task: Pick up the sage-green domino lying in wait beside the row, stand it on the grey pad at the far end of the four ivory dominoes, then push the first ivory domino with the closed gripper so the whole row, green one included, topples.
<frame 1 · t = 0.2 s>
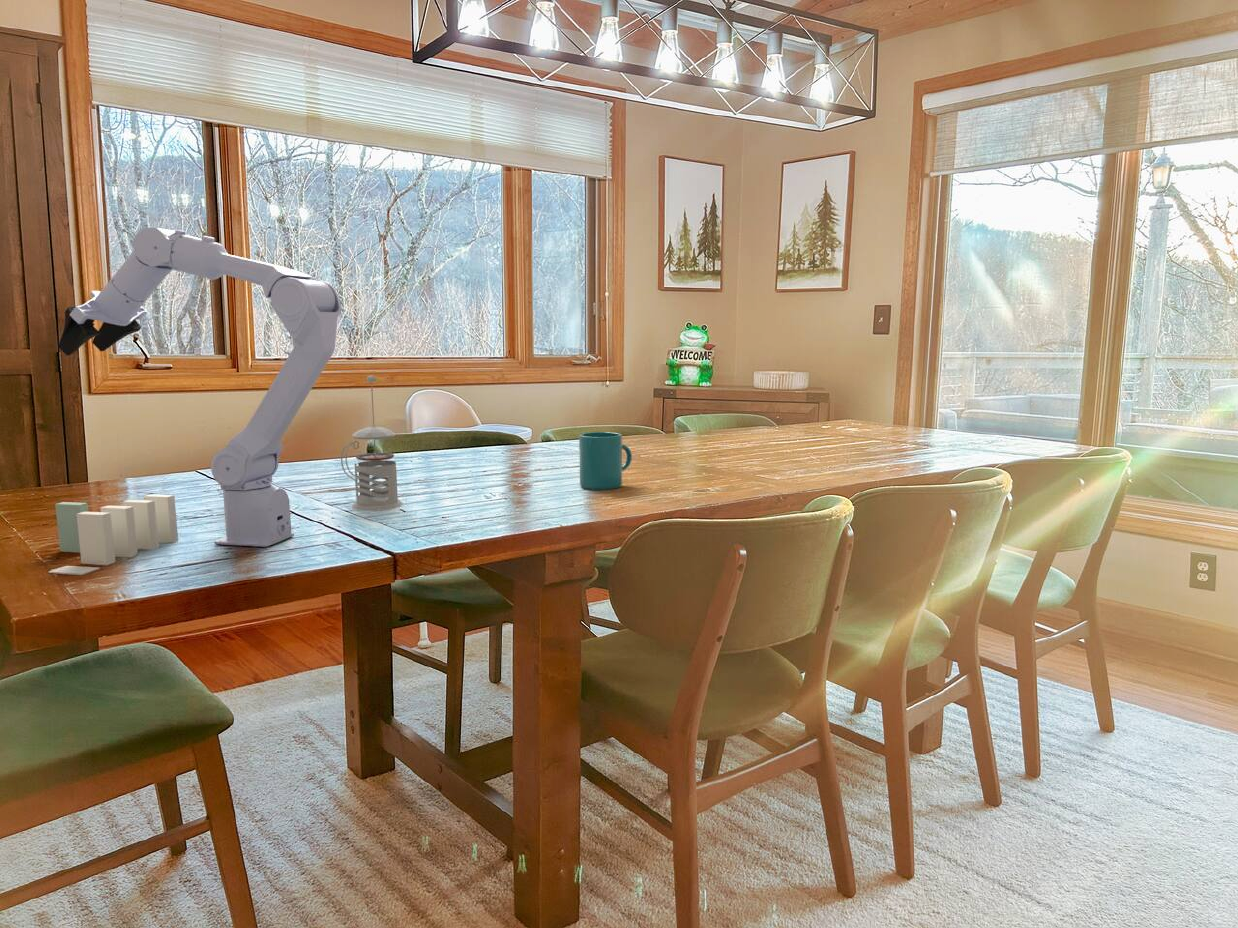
hand: (81, 348, 145), 31 cm above the table, tool tilted 45°, fingers open, 7 cm apart
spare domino: (76, 550, 138), on the table
french press: (373, 506, 172), on the table
domino 2: (142, 547, 140), on the table
domino 3: (121, 555, 136), on the table
domino 4: (98, 562, 131), on the table
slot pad: (74, 570, 127), on the table
domino 1: (162, 541, 144), on the table
cup: (607, 486, 191), on the table
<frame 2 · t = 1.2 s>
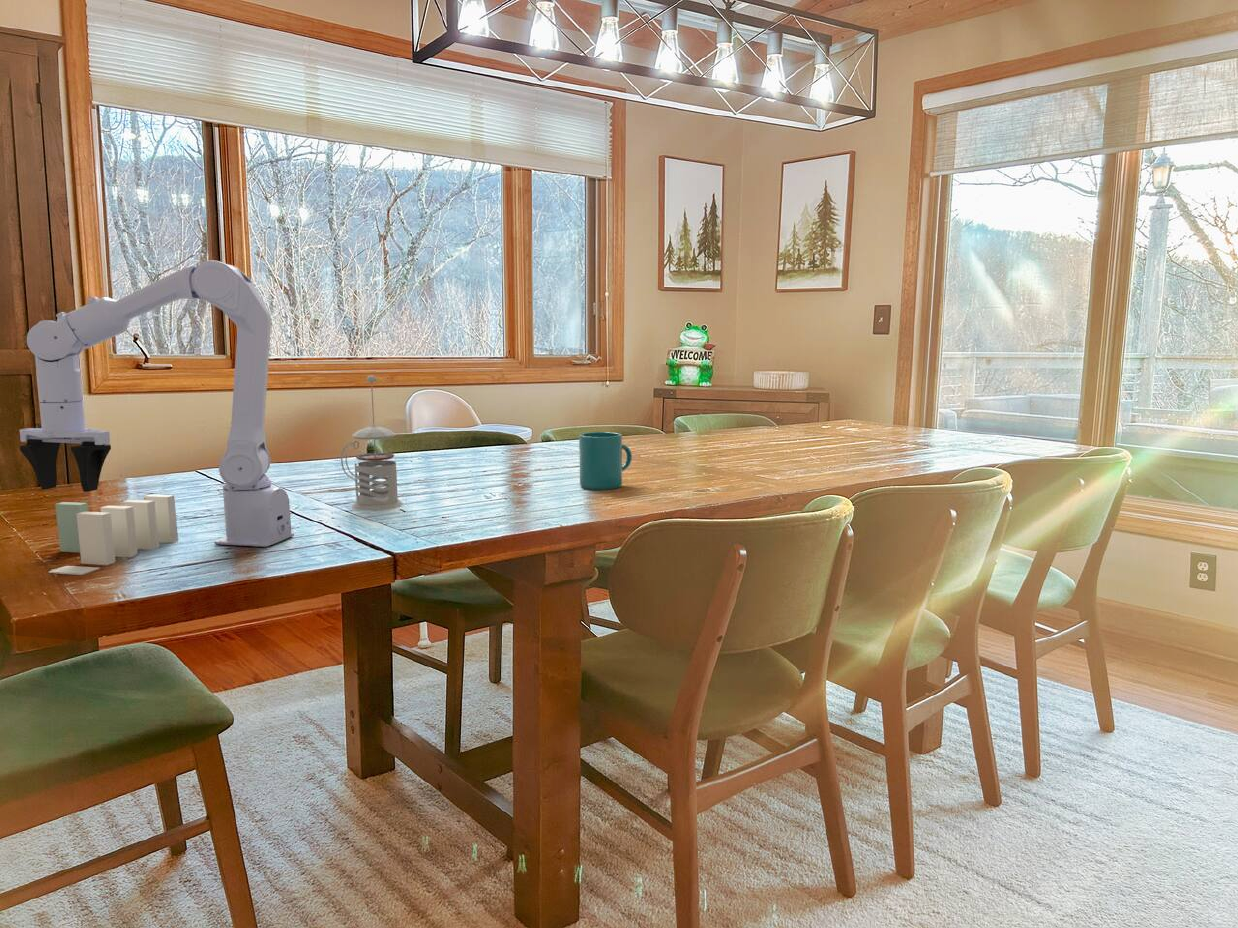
hand: (69, 489, 137), 10 cm above the table, tool pointing down, fingers open, 7 cm apart
nothing on the table moved.
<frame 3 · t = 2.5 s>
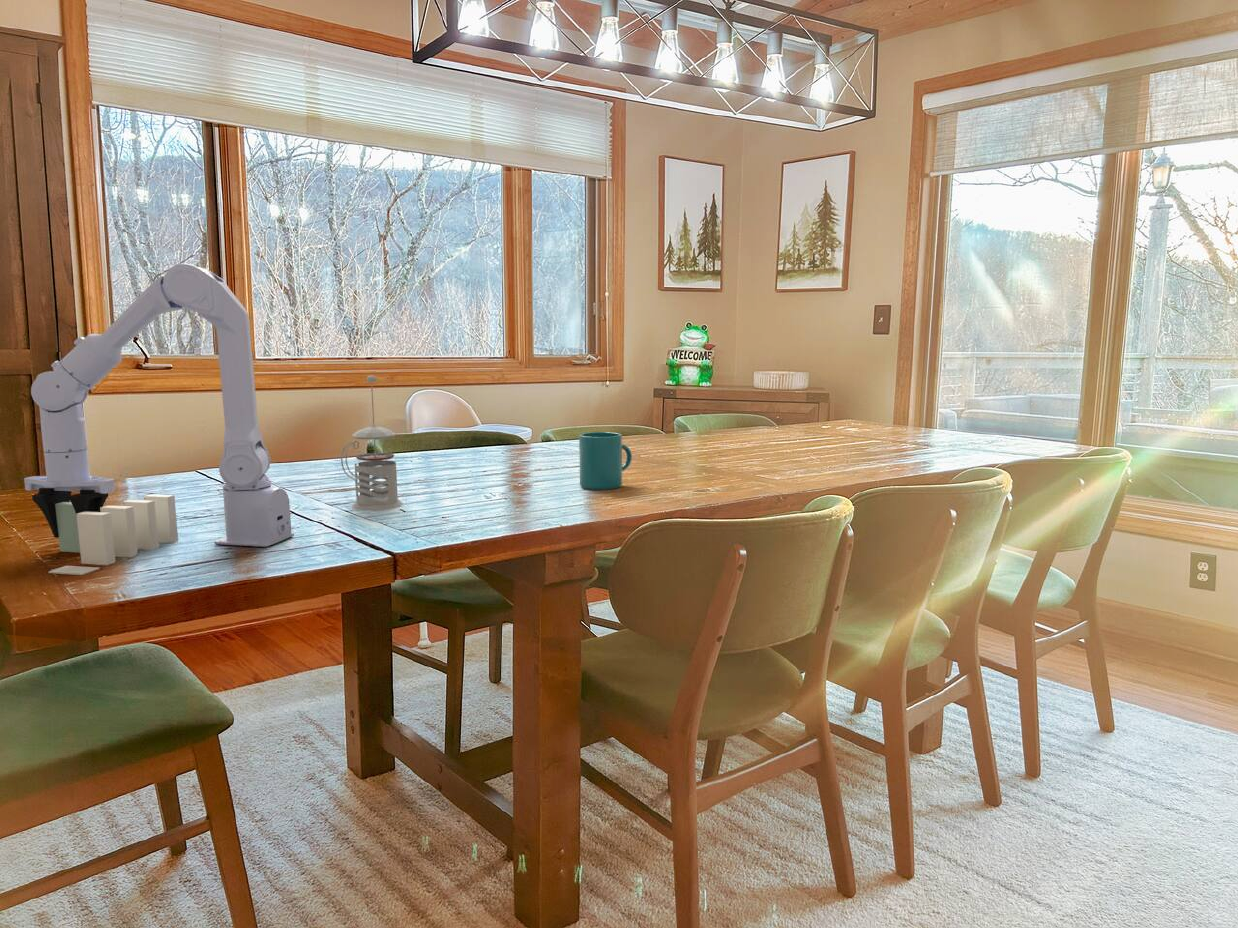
hand: (74, 536, 138), 2 cm above the table, tool pointing down, fingers closed on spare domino, 4 cm apart
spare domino: (76, 550, 138), on the table, touching gripper
everything else where it was.
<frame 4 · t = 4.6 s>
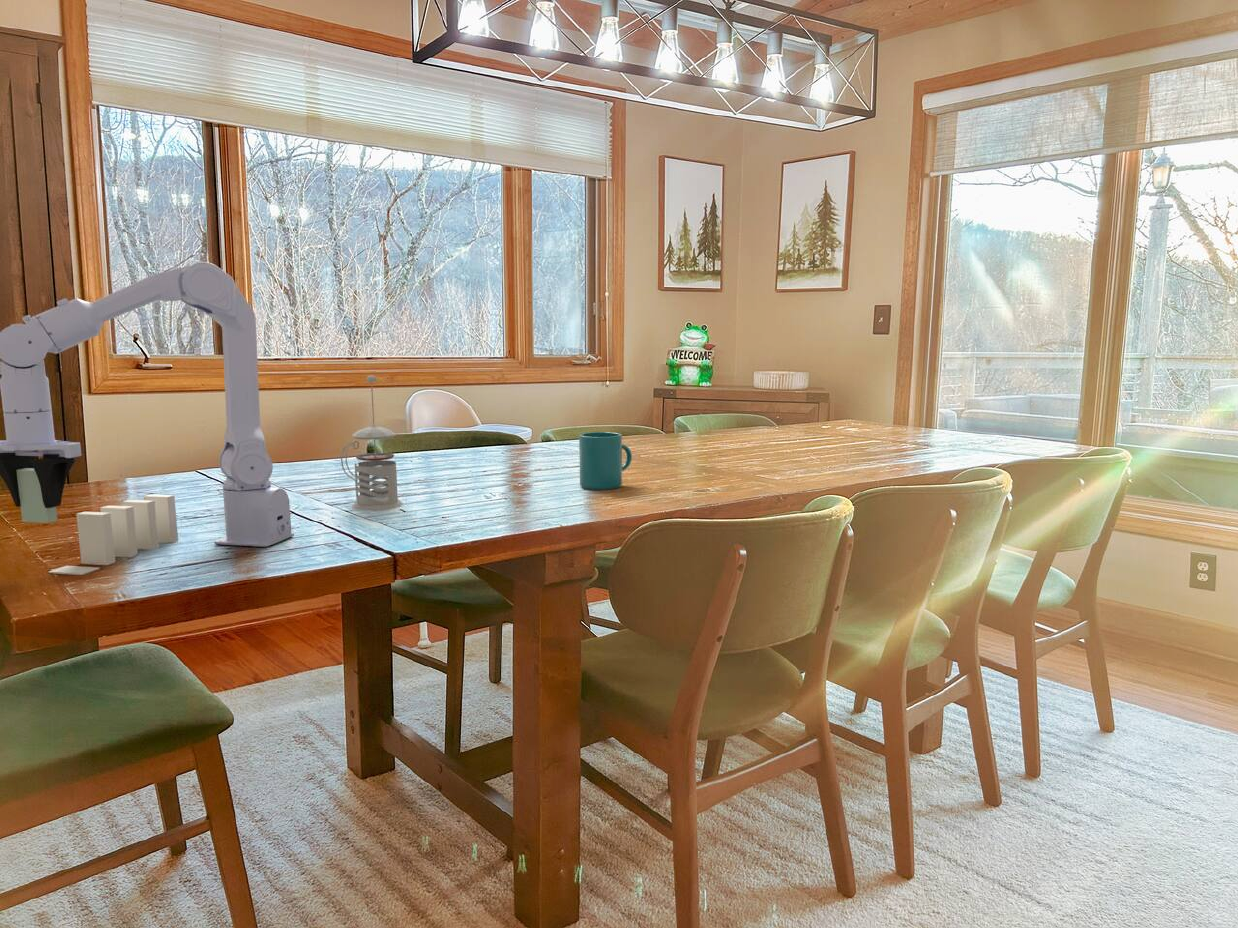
hand: (38, 506, 127), 9 cm above the table, tool pointing down, fingers closed on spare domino, 4 cm apart
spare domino: (39, 521, 127), point 7 cm above the table, touching gripper
everything else where it was.
when the fingers open (3 cm above the table, at t = 6.7 s): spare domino stays where it is, resting on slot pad.
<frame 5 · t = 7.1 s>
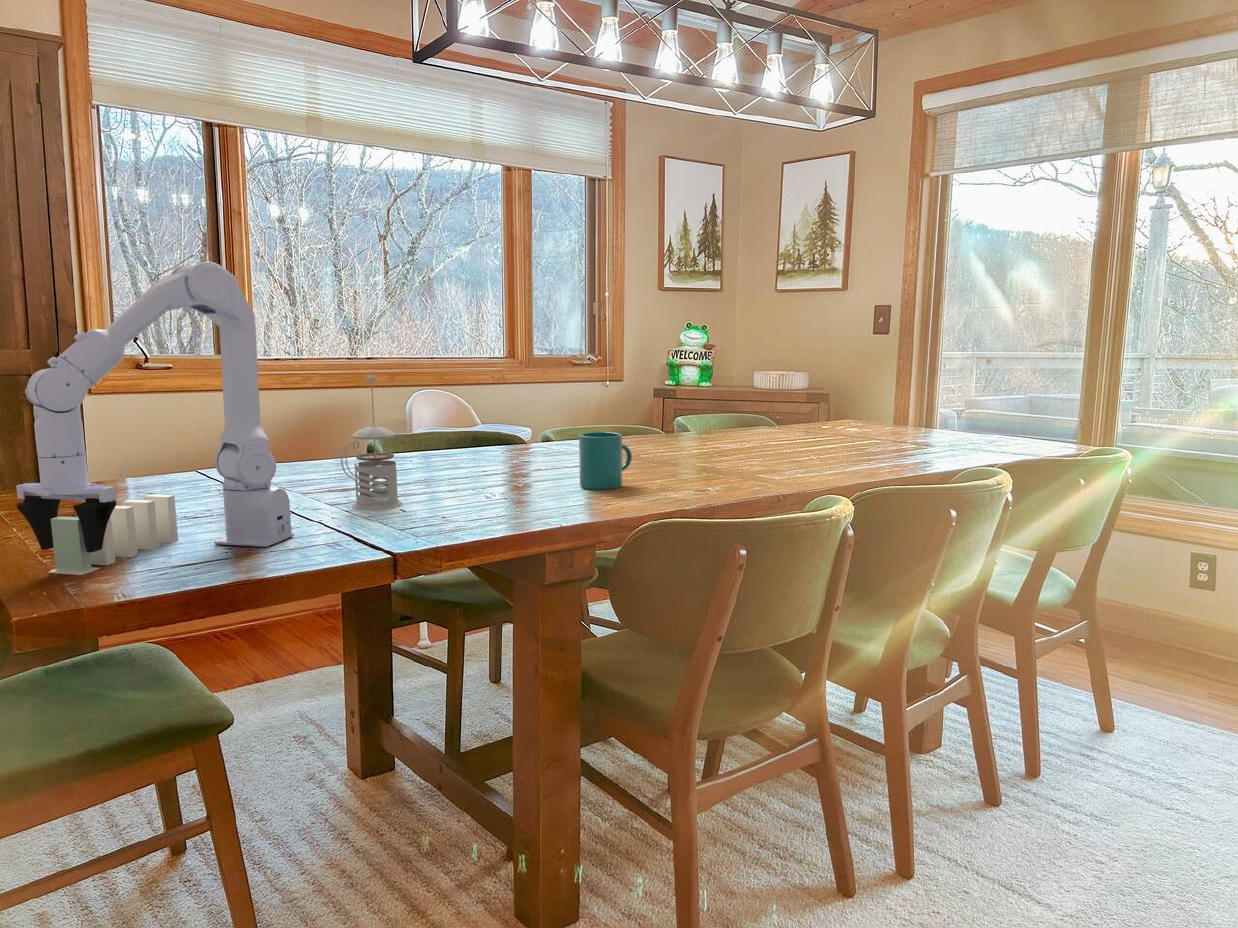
hand: (71, 549, 126), 3 cm above the table, tool pointing down, fingers open, 7 cm apart
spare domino: (73, 569, 127), resting on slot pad
everything else where it was.
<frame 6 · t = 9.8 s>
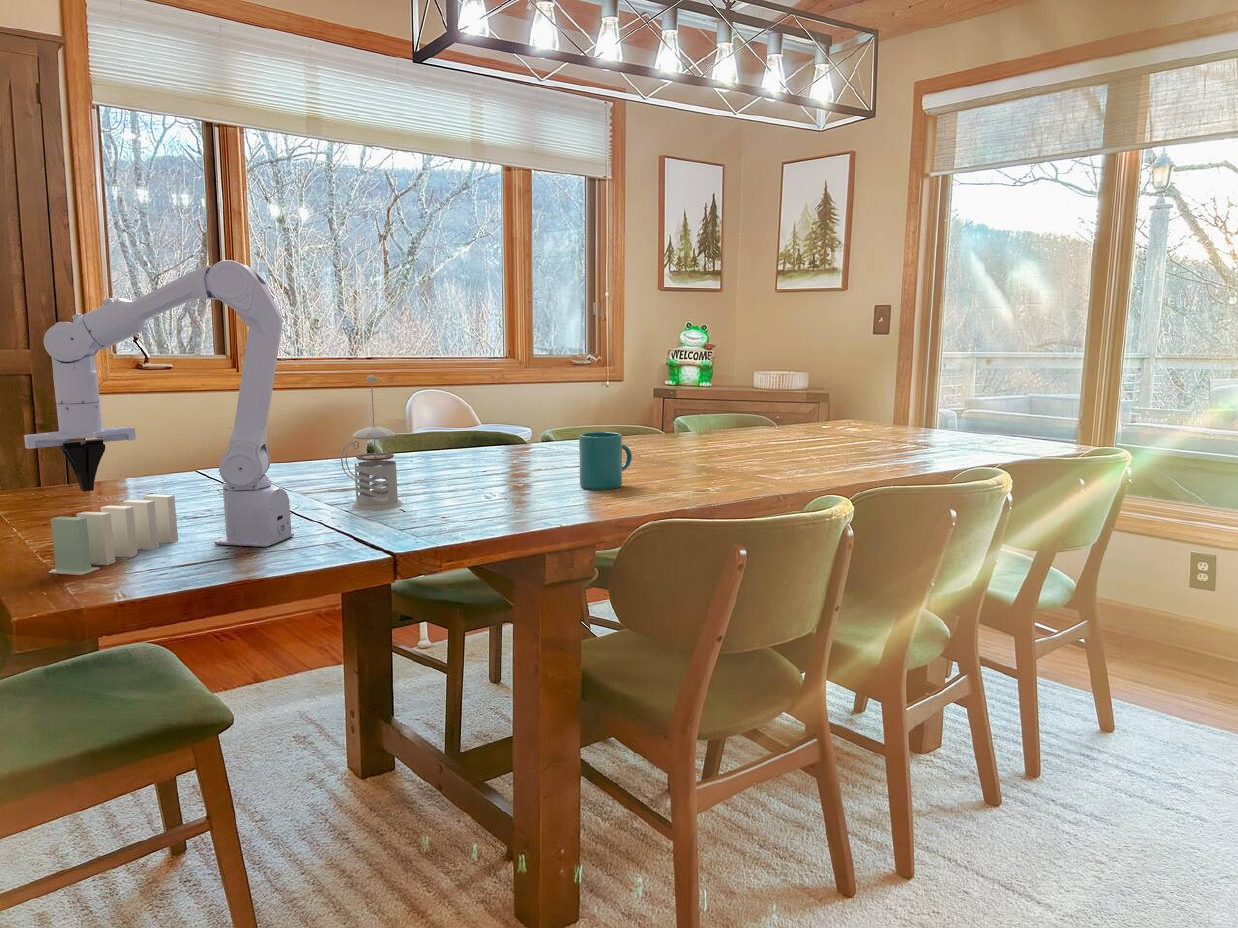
hand: (87, 490, 138), 9 cm above the table, tool pointing down, fingers closed
nothing on the table moved.
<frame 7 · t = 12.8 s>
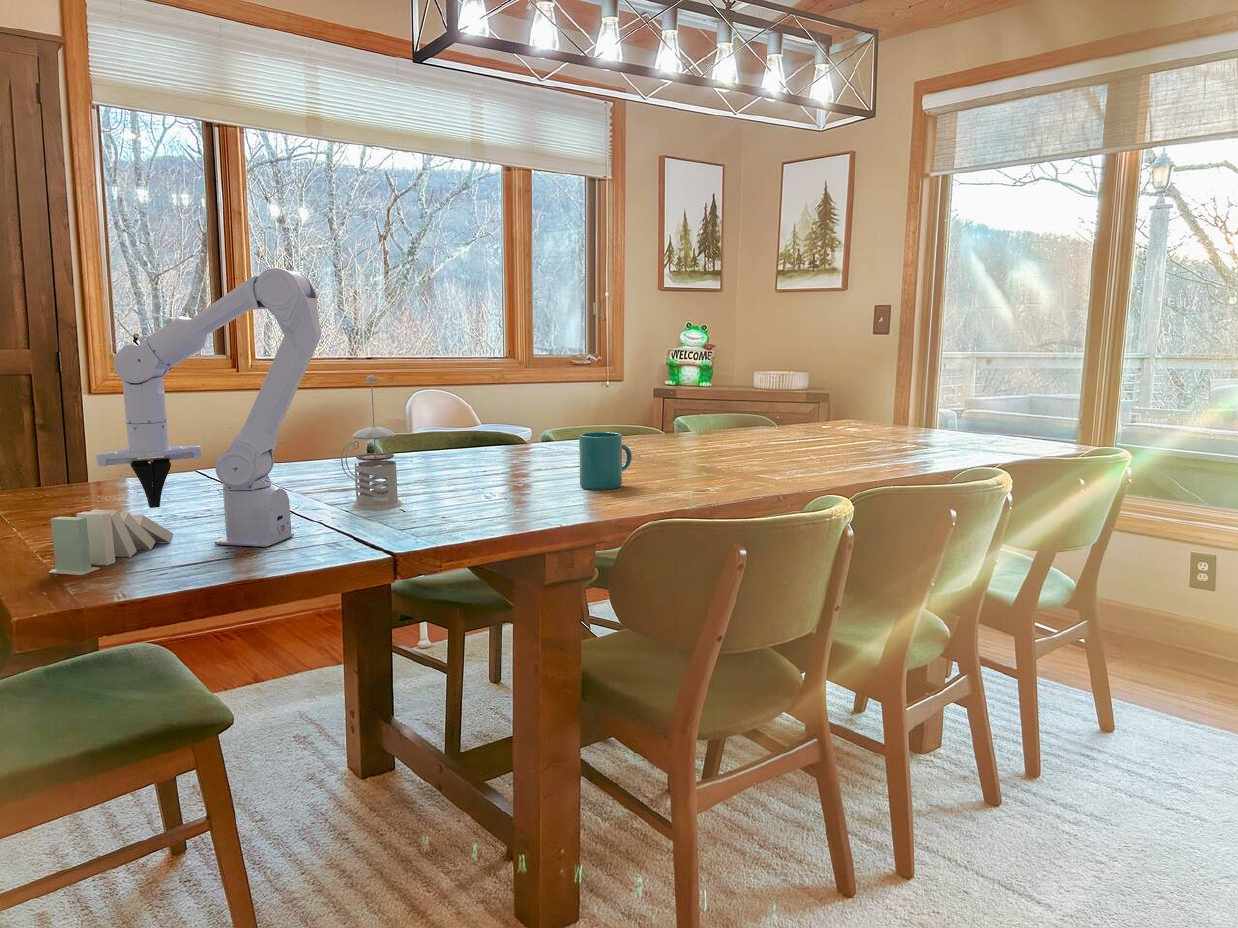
hand: (154, 506, 142), 6 cm above the table, tool pointing down, fingers closed
domino 2: (141, 544, 140), point 1 cm above the table, tilted 42°
domino 3: (120, 553, 135), on the table, tilted 23°
domino 1: (160, 537, 144), point 1 cm above the table, tilted 54°
everything else where it was.
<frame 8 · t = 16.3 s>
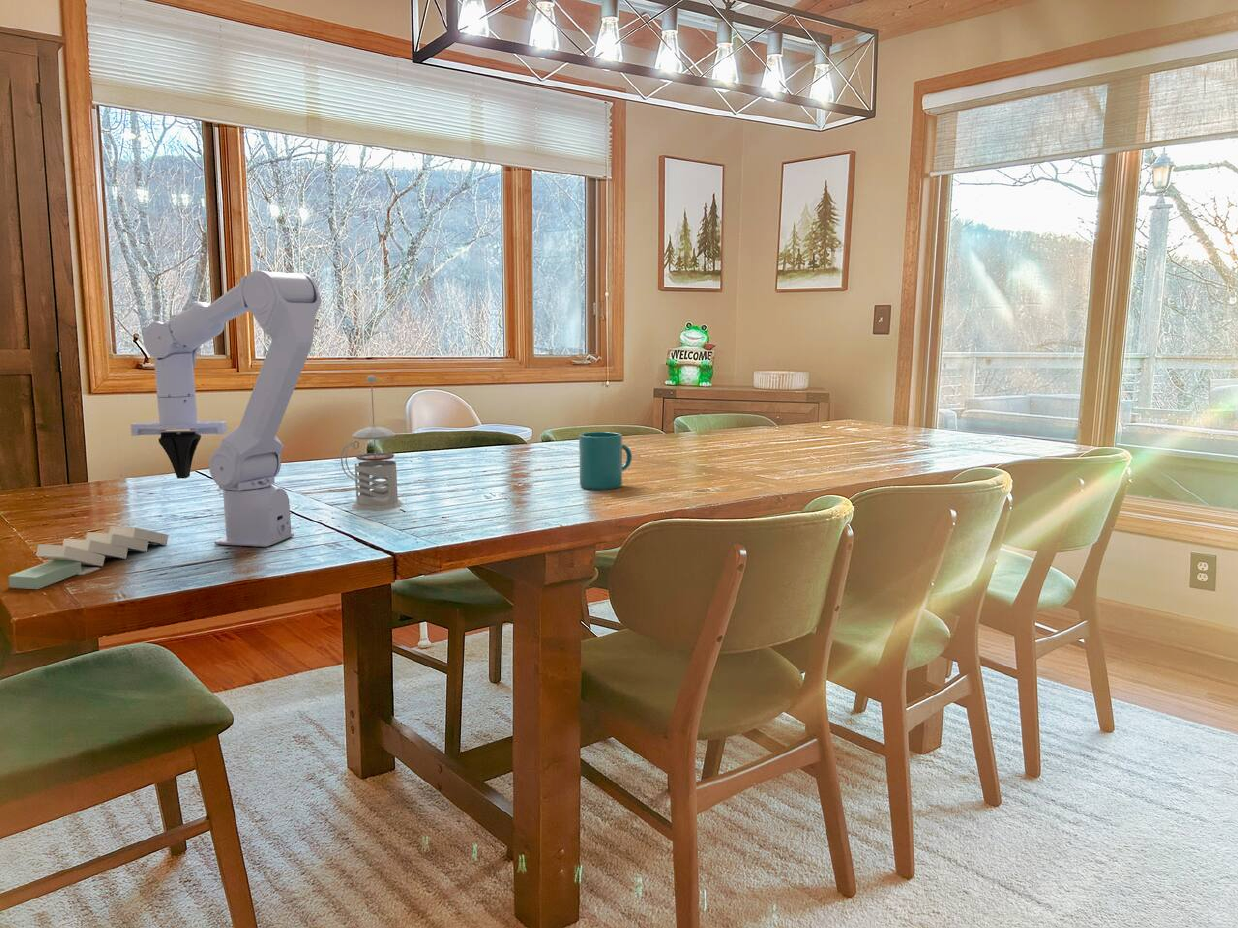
hand: (183, 477, 149), 9 cm above the table, tool pointing down, fingers closed
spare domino: (67, 565, 126), point 1 cm above the table, tilted 92°, touching domino 4, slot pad
domino 2: (134, 545, 138), point 1 cm above the table, tilted 67°, touching domino 1, domino 3
domino 3: (114, 552, 134), point 1 cm above the table, tilted 67°, touching domino 2, domino 4
domino 4: (90, 560, 130), point 1 cm above the table, tilted 65°, touching domino 3, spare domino
domino 1: (155, 539, 142), point 1 cm above the table, tilted 68°, touching domino 2
everything else where it was.
at the end: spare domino tilted 92°; domino 1 tilted 68°; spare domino inside the target area (0.5 cm from its centre), point 1.0 cm above the table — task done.
